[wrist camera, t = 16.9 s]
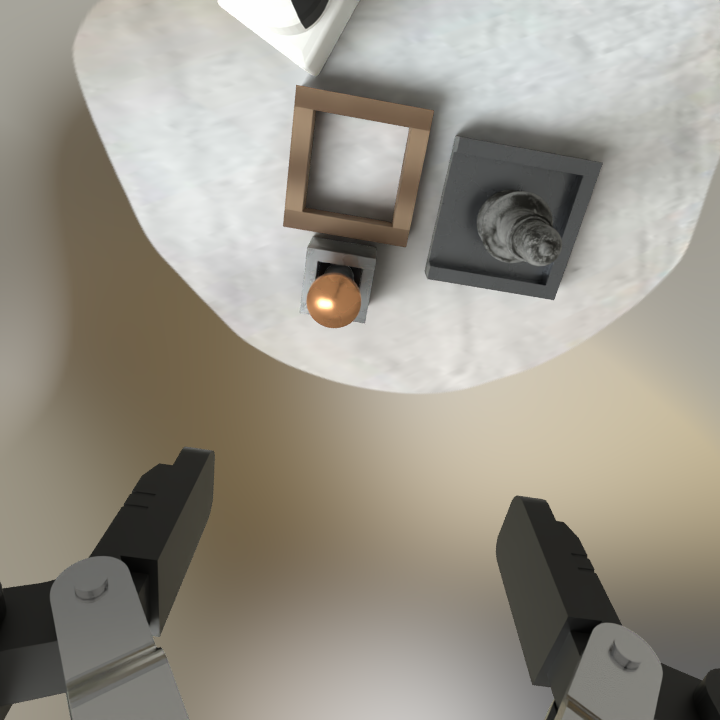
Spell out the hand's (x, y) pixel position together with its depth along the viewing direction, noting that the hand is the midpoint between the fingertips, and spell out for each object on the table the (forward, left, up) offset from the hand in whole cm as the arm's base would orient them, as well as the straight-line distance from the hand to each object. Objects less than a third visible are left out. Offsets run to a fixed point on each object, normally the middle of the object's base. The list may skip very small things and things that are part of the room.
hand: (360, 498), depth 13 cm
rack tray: (-3, +12, -36) cm, 38 cm away
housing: (+4, -2, -36) cm, 36 cm away
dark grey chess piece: (-3, +12, -35) cm, 37 cm away
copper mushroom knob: (+4, -2, -34) cm, 35 cm away
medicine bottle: (-16, -8, -36) cm, 41 cm away
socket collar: (-5, -2, -36) cm, 36 cm away
